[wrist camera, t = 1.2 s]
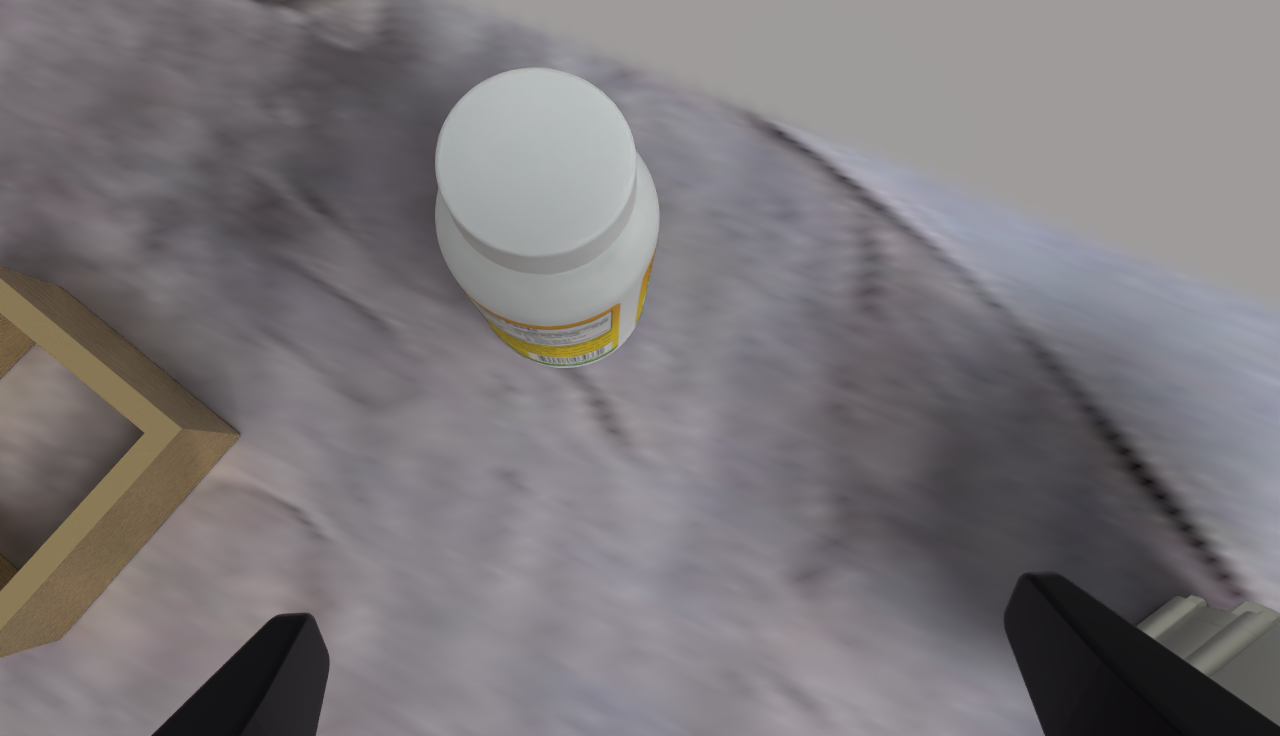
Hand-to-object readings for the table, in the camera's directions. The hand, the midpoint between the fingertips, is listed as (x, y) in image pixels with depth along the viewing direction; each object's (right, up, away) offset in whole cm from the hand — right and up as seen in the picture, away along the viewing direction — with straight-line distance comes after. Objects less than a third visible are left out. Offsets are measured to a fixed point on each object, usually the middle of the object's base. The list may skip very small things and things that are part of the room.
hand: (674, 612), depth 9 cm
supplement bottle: (-3, +6, +14) cm, 16 cm away
